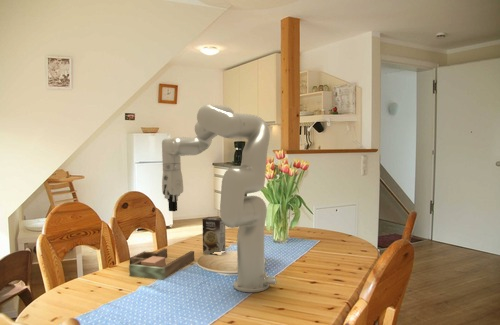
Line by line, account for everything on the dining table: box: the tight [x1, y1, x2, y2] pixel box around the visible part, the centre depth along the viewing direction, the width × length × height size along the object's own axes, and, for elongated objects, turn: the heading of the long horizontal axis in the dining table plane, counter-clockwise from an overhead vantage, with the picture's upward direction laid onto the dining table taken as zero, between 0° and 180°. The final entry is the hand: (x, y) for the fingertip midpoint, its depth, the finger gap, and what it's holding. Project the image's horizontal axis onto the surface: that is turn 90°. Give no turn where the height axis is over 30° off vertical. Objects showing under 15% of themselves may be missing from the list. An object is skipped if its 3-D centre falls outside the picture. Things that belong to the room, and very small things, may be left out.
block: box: [141, 256, 167, 267], centre depth 146 cm, size 6×8×5 cm
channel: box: [128, 248, 195, 280], centre depth 152 cm, size 21×24×4 cm
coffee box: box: [202, 216, 227, 255], centre depth 171 cm, size 9×6×16 cm
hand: (173, 210), depth 157 cm, fingers closed
